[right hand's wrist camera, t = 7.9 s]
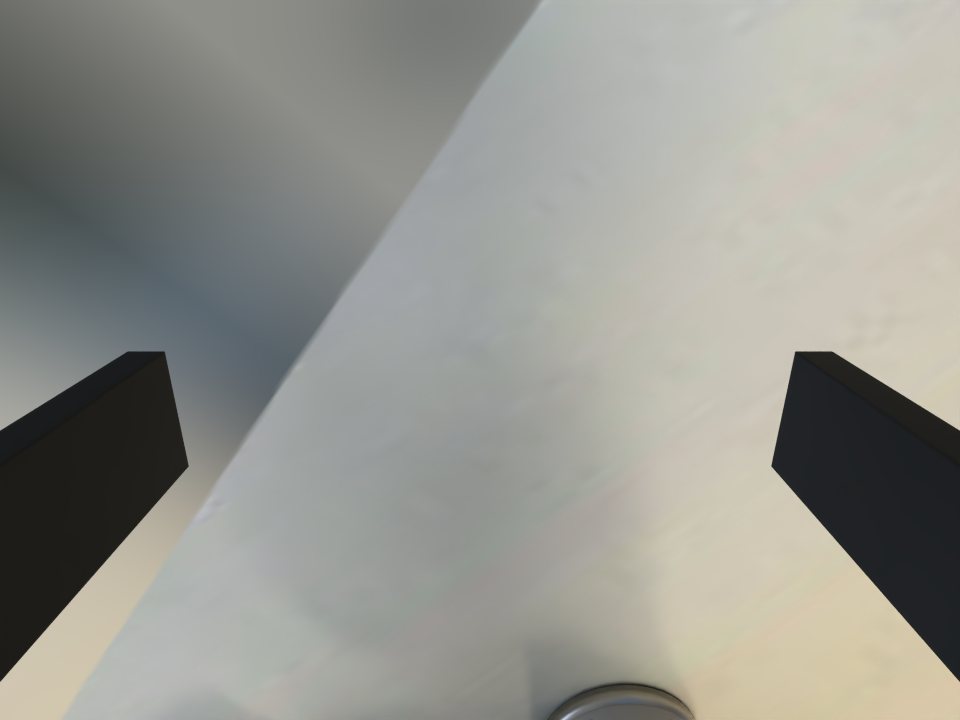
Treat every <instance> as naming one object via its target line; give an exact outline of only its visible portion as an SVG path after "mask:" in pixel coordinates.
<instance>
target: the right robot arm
mask: <svg viewBox="0 0 960 720" xmlns="http://www.w3.org/2000/svg"><path fill="white" fill-rule="evenodd" d="M187 468H188V461H187V456H186V451H185V446H184V442H183V437H182V432H181V427H180V423H179V418H178V413H177V408H176V403H175V399H174V394H173V389H172V384H171V380H170V375H169V370H168V365H167V360H166V356H165V352H126V353H125V354H123V355H121V356H120V357H118V358H117V359H115V360H113V361H112V362H110V363H109V364H107V365H105V366H104V367H102V368H101V369H99V370H97V371H96V372H94V373H93V374H91V375H89V376H88V377H86V378H84V379H83V380H81V381H80V382H78V383H76V384H75V385H73V386H72V387H70V388H68V389H67V390H65V391H63V392H62V393H60V394H59V395H57V396H55V397H54V398H52V399H51V400H49V401H47V402H46V403H44V404H43V405H41V406H39V407H38V408H36V409H34V410H33V411H31V412H30V413H28V414H26V415H25V416H23V417H22V418H20V419H18V420H17V421H15V422H14V423H12V424H10V425H9V426H7V427H6V428H4V429H2V430H1V431H0V681H1V680H2V679H3V678H4V677H5V676H6V675H7V673H8V672H9V671H10V670H11V669H12V668H13V667H14V665H15V664H16V663H17V662H18V661H19V660H20V659H21V657H22V656H23V655H24V654H25V653H26V652H27V650H28V649H29V648H30V647H31V646H32V645H33V644H34V642H35V641H36V640H37V639H38V638H39V637H40V636H41V635H42V633H43V632H44V631H45V630H46V629H47V628H48V627H49V625H50V624H51V623H52V622H53V621H54V620H55V619H56V617H57V616H58V615H59V614H60V613H61V612H62V611H63V609H64V608H65V607H66V606H67V605H68V604H69V602H70V601H71V600H72V599H73V598H74V597H75V596H76V594H77V593H78V592H79V591H80V590H81V589H82V588H83V587H84V585H85V584H86V583H87V582H88V581H89V580H90V578H91V577H92V576H93V575H94V574H95V573H96V572H97V571H98V569H99V568H100V567H101V566H102V565H103V564H104V562H105V561H106V560H107V559H108V558H109V557H110V556H111V555H112V553H113V552H114V551H115V550H116V549H117V548H118V546H119V545H120V544H121V543H122V542H123V541H124V540H125V538H126V537H127V536H128V535H129V534H130V533H131V532H132V530H133V529H134V528H135V527H136V526H137V525H138V524H139V522H140V521H141V520H142V519H143V518H144V517H145V516H146V514H147V513H148V512H149V511H150V510H151V509H152V508H153V506H154V505H155V504H156V503H157V502H158V501H159V500H160V498H161V497H162V496H163V495H164V494H165V493H166V492H167V490H168V489H169V488H170V487H171V486H172V485H173V484H174V482H175V481H176V480H177V479H178V478H179V477H180V476H181V474H182V473H183V472H184V471H185V470H186V469H187ZM772 468H773V469H774V470H775V471H776V472H777V473H778V474H779V476H780V477H781V478H782V479H783V480H784V481H785V482H786V484H787V485H788V486H789V487H790V488H791V489H792V490H793V492H794V493H795V494H796V495H797V496H798V497H799V498H800V500H801V501H802V502H803V503H804V504H805V505H806V506H807V508H808V509H809V510H810V511H811V512H812V513H813V514H814V516H815V517H816V518H817V519H818V520H819V521H820V522H821V524H822V525H823V526H824V527H825V528H826V529H827V530H828V532H829V533H830V534H831V535H832V536H833V537H834V538H835V540H836V541H837V542H838V543H839V544H840V545H841V546H842V548H843V549H844V550H845V551H846V552H847V553H848V555H849V556H850V557H851V558H852V559H853V560H854V561H855V563H856V564H857V565H858V566H859V567H860V568H861V569H862V571H863V572H864V573H865V574H866V575H867V576H868V577H869V579H870V580H871V581H872V582H873V583H874V584H875V585H876V587H877V588H878V589H879V590H880V591H881V592H882V593H883V595H884V596H885V597H886V598H887V599H888V600H889V601H890V603H891V604H892V605H893V606H894V607H895V608H896V609H897V611H898V612H899V613H900V614H901V615H902V616H903V617H904V619H905V620H906V621H907V622H908V623H909V624H910V625H911V627H912V628H913V629H914V630H915V631H916V632H917V633H918V635H919V636H920V637H921V638H922V639H923V640H924V641H925V643H926V644H927V645H928V646H929V647H930V648H931V649H932V651H933V652H934V653H935V654H936V655H937V656H938V657H939V659H940V660H941V661H942V662H943V663H944V664H945V665H946V667H947V668H948V669H949V670H950V671H951V672H952V673H953V675H954V676H955V677H956V678H957V679H958V680H959V681H960V431H959V430H958V429H956V428H955V427H953V426H951V425H950V424H948V423H947V422H945V421H943V420H942V419H940V418H938V417H937V416H935V415H934V414H932V413H930V412H929V411H927V410H926V409H924V408H922V407H921V406H919V405H917V404H916V403H914V402H913V401H911V400H909V399H908V398H906V397H905V396H903V395H901V394H900V393H898V392H897V391H895V390H893V389H892V388H890V387H888V386H887V385H885V384H884V383H882V382H880V381H879V380H877V379H876V378H874V377H872V376H871V375H869V374H868V373H866V372H864V371H863V370H861V369H859V368H858V367H856V366H855V365H853V364H851V363H850V362H848V361H847V360H845V359H843V358H842V357H840V356H839V355H837V354H835V353H834V352H795V356H794V360H793V365H792V370H791V375H790V380H789V384H788V389H787V394H786V399H785V403H784V408H783V413H782V418H781V423H780V427H779V432H778V437H777V442H776V446H775V451H774V456H773V461H772ZM548 720H695V719H694V717H693V715H692V714H691V712H690V711H689V710H688V708H687V707H686V706H685V705H684V704H683V703H681V702H680V701H679V700H677V699H676V698H674V697H672V696H671V695H669V694H667V693H664V692H662V691H659V690H656V689H653V688H649V687H643V686H635V685H616V686H608V687H602V688H598V689H594V690H591V691H588V692H585V693H583V694H580V695H578V696H576V697H574V698H572V699H570V700H569V701H567V702H566V703H564V704H563V705H562V706H560V707H559V708H558V709H557V710H556V711H555V712H554V713H553V714H552V715H551V716H550V717H549V719H548Z"/></svg>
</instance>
